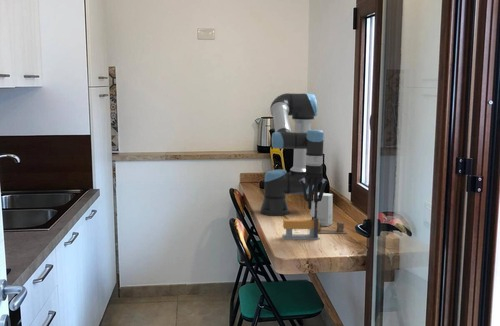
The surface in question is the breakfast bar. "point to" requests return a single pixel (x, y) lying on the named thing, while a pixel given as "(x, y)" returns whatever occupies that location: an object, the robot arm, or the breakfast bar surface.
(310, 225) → the orange tapered block
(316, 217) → the grey gate frame
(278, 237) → the breakfast bar surface
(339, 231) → the rest
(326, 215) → the skincare box
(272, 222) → the breakfast bar surface
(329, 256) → the breakfast bar surface
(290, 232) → the clip mount
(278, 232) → the breakfast bar surface
